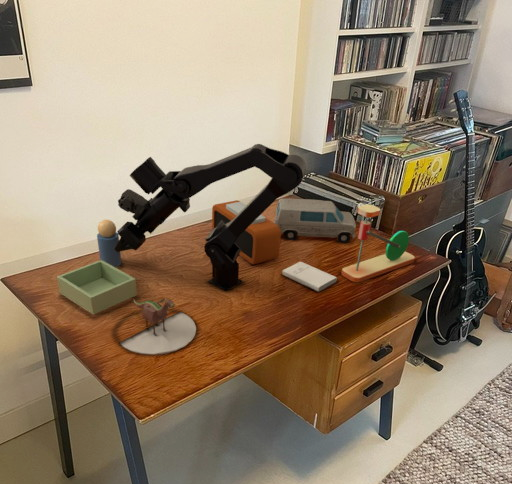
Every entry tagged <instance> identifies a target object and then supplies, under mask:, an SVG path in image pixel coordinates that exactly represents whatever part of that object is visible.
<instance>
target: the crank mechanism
mask: <svg viewBox="0 0 512 484" xmlns="http://www.w3.org/2000/svg"><path fill="white" fill-rule="evenodd" d="M356 212H357V214H358V215H360V216H362V217H364V218H365V219H364V220H361V221H360V223H359V228H358V233H357V239H359V240H360V246H359V251H358V252H359V253H358V257H357V262H356V263H353V264H350V265H348V266H345V267H343V268H342V269H341V274H340V275H341V276H343V277H344V278H346V279H347V280H349V281H351V282H353V283H361V282H364V281H367V280H370V279H372V278H375V277H378V276H381V275H383V274H386V273H389V272H391V271H395V270H397V269H400V268H404V267H405V266H408V265H411V264H414V263H415V259H416V257H415V256H414V255H413V254H411V253H409V252H407V249H408V245H409V241H410V236H409V233H408V232H407V231H405V230H398V231H397V232H395V233H394V234H393V235H392V236H391V238H389V239H388V238H386V237H384V236H381V235H379V234H378V233H375V232H373V231H371V226H372V223H371V221H369V220H368V219H369V218H374V217H378V216H379V215H380V214H381V213H380V212H381V208H380V207H379V206H376V205H374V204H368V203H367V204H362V205H359V206H357V211H356ZM369 236H371V237H374V238H376V239H377V240H380V241H381V242H384V243H387V245H386V247H385V253H383V254H380V255H377V256H374V257H371V258H369V259H366V260H363V261H361V257H362V251H363V246H364V241H368V240H369Z"/></svg>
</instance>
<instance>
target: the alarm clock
mask: <svg viewBox="0 0 512 484" xmlns="http://www.w3.org/2000/svg"><path fill="white" fill-rule="evenodd" d="M246 205H247V204H245V203H243V202H242V201H240V200H231V201H227V202H222V203H221V202H220V203H216V204H213V205H212V208H211V210H212V211H211V214H212V215H211V230H212V229H214V228H216V227H217V226H218V225H219V223H220V222H221V220H222V221H223V222H224V223H225V224H227V223H229V222H230V221H232V220H233V219H234V218H235V217H236V216H237V215H238V214H239V213H240V212H241V211H242V210H243V208H244V207H245V206H246ZM281 237H282V235H281V231H280V228H279V226H278V225H276V224H275V223H274V221H272V220H270V219H268V218H267V217H265V216H264V215H263V214H261V215H260V216H259V217H258V218H257V219H256V220H255V221H254V222H253V223H252V224H251V225H250V226H249V227H248V228H247V229H246V230H245V231H244V232H243V233H242V234H241V235H240V236H239V237H238V238H237V240H236V241H235V243H236V244H237V245H238V247H239V248H240V249H241V251H240V253H239V255H238V256H240V257H241V258H243V259H244V260H245V261H247V262H248V263H249V264H250V265H257V264H260V263H264V262H268V261H271V260H275V259H278V258H279V256H280V250H281V249H280V247H281Z"/></svg>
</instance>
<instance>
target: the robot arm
mask: <svg viewBox="0 0 512 484" xmlns="http://www.w3.org/2000/svg"><path fill="white" fill-rule="evenodd" d="M253 168H257V169H259V170H260V171H261V172H263V173H264V174H266V176H268V177H270V180H269V181H268V183H267V184H265V186H264V187H263V188H262V189H261V190H260V191H259V192H258V193H257V194H256V195H255V196H254V197H253V198H252V199H250V201H249V202H248V203H247V204H245V205H246V206H245V207H244V208H243V210H242V211H241V212H240V213H239V214H238V215H237V216H236V217H235V218H234V219H233V220H232V221H230V222H229V223H227V224H225V223H224V222H223V221H222V220H221V222H220V223H219V225H218V226H217V227H216V228H214V229H212V228H211V231H210V232H209V234H208V235H207V237H206V238H205V242H206V243H205V244H204V246H203V248H204V252H205V255H206V256H207V257H208V258H209V261H210V263H211V271H212V272H211V277H212V278H211V279H209V280H208V283H209V284H211V285H213V286H215V287H217V288H219V289H220V290H223V291H225V292H228V291H229V290H231V289H233V288H236V287H237V286H239V285H241V284H243V280H241V279H239V278H240V277H239V273H240V272H239V271H240V270H239V269H240V263H239V262H238V260H237V258H238V257H239V256H240V255H239V253H240V251H241V249H240V248H239V247H238V245H237V244H236V243H235V241H236V240H237V238H238V237H239V236H240V235H241V234H242V233H243V232H244V231H245V230H246V229H247V228H248V227H249V226H250V225H251V224H252V223H253V222H254V221H255V220H256V219H257V218H258V217H259V216H260V215H263V213H264V212H265V211H266V210H267V209H268V208H269V207H270V206H271V205H272V204H273V203H274V202H275V201H276V200H277V199H280V198H281V197H283V196H285V195H287V194H289V193H290V192H292V191H293V190H294V189H296V188H297V187H299V186H300V184H301V183H302V181H303V179H304V177H305V174H306V172H307V163H306V161H305V160H304V158H303V157H302V156H300V155H298V154H288V153H287V152H285V151H282V150H277V149H274V148H271V147H268V146H266V145H263V144H261V143H256V144H255V143H254V145H252V146H251V147H249V148H247V149H244V150H241V151H239V152H237V153H234V154H231V155H228V156H226V157H224V158H221V159H219V160H217V161H214V162H211V163H208V164H197V165H191V166H187V167H183V168H182V169H181V170H170V171H168V172H167V173H165V171H163V170H162V168H160V167H159V165H158V164H157V162H156V160H154V159H153V157H151V156H149V157H147V158H146V159H145V161H143V162H142V163H141V164H139V166H137V167H136V168H135V169H134V170H133V171H132V172H131V173H130V174H129V177H130V178H131V179H132V180H133V182H135V183H136V185H137V186H138V187H139V188H140V189H141V190H142V191H143V192H144V193H145V194H147V195H150V194H152V195H154V194H155V193H156V192H157V191H158V190H159V189H160V188H161V190H160V191H159V192H158V193H156V194H155V196H154V197H153V198H152V197H151V198H149V199H147V198H145V197H144V196H143V195H141V194H139V193H137V192H136V191H134V190H132V189H129V188H128V189H126V190H124V191H123V192H122V193H121V195H120V198H119V199H118V200H117V205H118V207H119V208H120V209H121V210H123V211H125V212H127V213H130V214H133V215H132V216H131V217H132V218H133V219H134V220H135V221H136V222H135V223H134V222H133V221H126V222H125V223H124V224H123V225H122V226H121V227H120V228H119V229H118V230H116V232H117V233H118V236H119V242H118V243H117V245H116V247H115V248H114V249H115V251H116V252H120V253H121V252H124V251H125V252H126V251H129V250H134V251H138V250H139V249H140V248H141V247H142V245H144V243H145V242H146V240H147V237H146V235H145V233H147V232H148V233H149V234H150V235H151V234H153V233H154V231H155V230H156V229H157V228H158V227H159V226H161V225H162V224H164V222H165V221H166V220H167V219H168V218H169V217H170V216H171V215H173V213H174V212H175V211H177V210H178V209H180V210H181V211H182V213H187V211H188V210H189V209H190V208H191V203H190V200H191V199H190V198H192V197H194V196H196V195H197V194H199V193H200V192H201V191H203V190H205V188H207V187H208V186H210V185H211V184H214V183H216V182H218V181H222V180H224V179H227V178H229V177H232V176H235V175H236V174H239V173H242V172H243V171H247V170H250V169H253Z"/></svg>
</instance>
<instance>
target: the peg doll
mask: <svg viewBox="0 0 512 484" xmlns="http://www.w3.org/2000/svg"><path fill="white" fill-rule="evenodd" d="M96 239H97V240H96V241H97V246H98V254H99V260H102V261H104V262H106V263H108V264H110V265H112V266H113V267H115V268H118V267H119V266H120V265H122V256H121V251H120V252H116V251H115V249H114V248H115V247H116V245H117V243H118V242H119V240H120V235H119V234H118V232H117V226H116V224H115V222H114V221H112V220H110V219H103V220H101V221H99V222H98V224H97V234H96Z"/></svg>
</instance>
